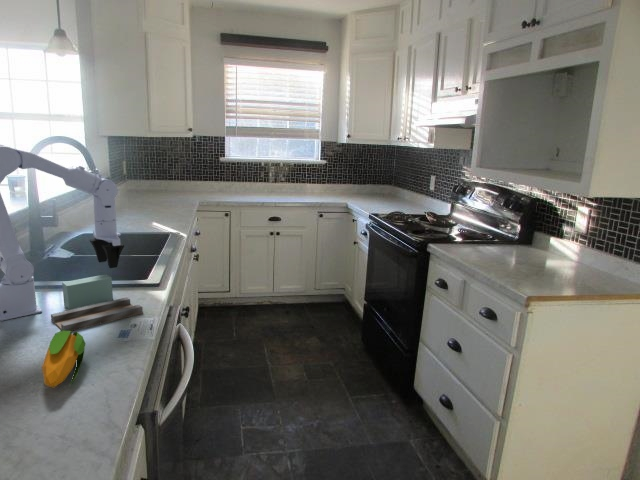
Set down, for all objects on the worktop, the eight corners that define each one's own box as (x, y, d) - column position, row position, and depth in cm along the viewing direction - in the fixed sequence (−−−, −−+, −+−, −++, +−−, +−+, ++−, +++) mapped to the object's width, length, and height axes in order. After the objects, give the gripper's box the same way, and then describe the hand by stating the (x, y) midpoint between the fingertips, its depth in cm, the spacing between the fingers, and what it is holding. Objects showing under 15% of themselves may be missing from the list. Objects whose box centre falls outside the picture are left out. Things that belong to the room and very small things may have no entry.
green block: (69, 310, 129) (67, 286, 127) (64, 305, 131) (62, 282, 130) (112, 300, 137) (111, 277, 135) (107, 296, 140) (105, 274, 138)
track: (64, 332, 114) (64, 326, 114) (51, 320, 121) (50, 314, 121) (142, 313, 128) (142, 306, 128) (127, 302, 135) (126, 297, 135)
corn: (85, 319, 104) (73, 360, 86) (90, 350, 106) (79, 396, 88) (48, 324, 102) (27, 368, 84) (54, 356, 104) (34, 405, 86)
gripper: (130, 222, 133) (131, 267, 136) (108, 214, 143) (111, 257, 146) (105, 225, 128) (107, 272, 131) (84, 216, 138) (87, 260, 141)
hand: (107, 264), depth 138 cm, fingers open, 7 cm apart
